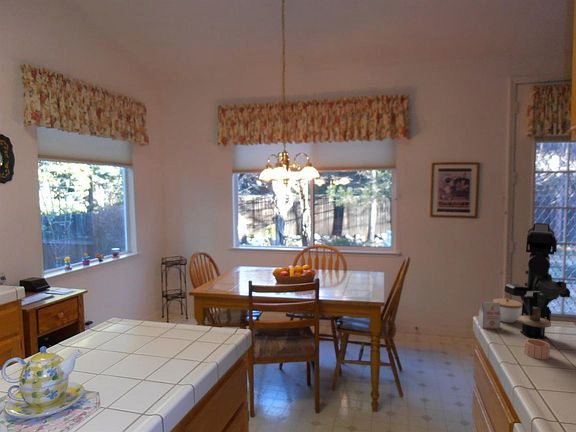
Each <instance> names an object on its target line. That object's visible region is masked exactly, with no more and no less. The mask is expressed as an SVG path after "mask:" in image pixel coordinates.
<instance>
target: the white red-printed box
mask: <svg viewBox="0 0 576 432" xmlns="http://www.w3.org/2000/svg"><path fill="white" fill-rule="evenodd" d="M500 320H501V312H500V304H499V302H493V301H481V303H480V307H479V310H478V323H477V325H478V326H479V327H480V328H482V329H490V330H491V329H493V330H494V329H497V330H500V329H501V321H500Z"/></svg>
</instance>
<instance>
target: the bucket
mask: <svg viewBox="0 0 576 432" xmlns="http://www.w3.org/2000/svg"><path fill="white" fill-rule="evenodd" d="M523 345H524V346H523V353H524V354H525V355H527V356H528V357H530V358H533V359H537V360H548V359H550V358H551V357H550V356H551V355H550V354H551V344H550V343H548V342H547V341H544V340H542V339H539V338H526V339H524V343H523Z"/></svg>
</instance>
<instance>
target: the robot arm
mask: <svg viewBox="0 0 576 432" xmlns="http://www.w3.org/2000/svg"><path fill="white" fill-rule="evenodd" d="M550 227H551V225H550V224H549V223H545V222H535V223H533V227H531V228H529V229H528V230H527V237H526V247H525V253H528V254H529V253H530V254H529V255H528V263H527V266H528V269H527V270H525V274H526V275H527V282H524V285H520V284H518V283H507V284H506V285H505V286H504V292H505V293H507V294H510V295H511V296H515V297H520V298H521V300H522V303H521V304H522V310H521V316H524V315H527V316H532V312H533V307H538V308H541V315H540V318H544V319H547V320H549V321H550V322H551V319H552V310H551V309H550V306H549V304H550V302H552V301H554V300H558V298H559V297H560V298H571V291H570V289H569V288H568V287H567V283H566V282H565V281H562V280H561V281H553V276H552V274H550V268H551V261H550V259H551V257H550V255H553V256H554V255H555V253H557V247H558V246H557V245H558V240H557V238H556V236H555V231H554V230H553V229H552V228H550ZM521 327H522V328H521V330H520V331H519V332H520V333H521V334H523V335H525V336H526V337H528V339H545V340H546V339H547V340H548V336H547V335H546V334H545V331H546V327H535V326H530V325H527V324H524V323H522V326H521Z"/></svg>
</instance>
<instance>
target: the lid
mask: <svg viewBox="0 0 576 432" xmlns="http://www.w3.org/2000/svg"><path fill="white" fill-rule="evenodd" d="M540 315H541V308H538V307H533V312H532V316H527V315H524V316H522V315H520V316H519V318H518V321H519V322H520V323H522V324H523V323H524V324H527V325H530V326H535V327H545V328H551V326H552V322H551V320H550V321H549V320H547V319H544V318H540Z"/></svg>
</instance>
